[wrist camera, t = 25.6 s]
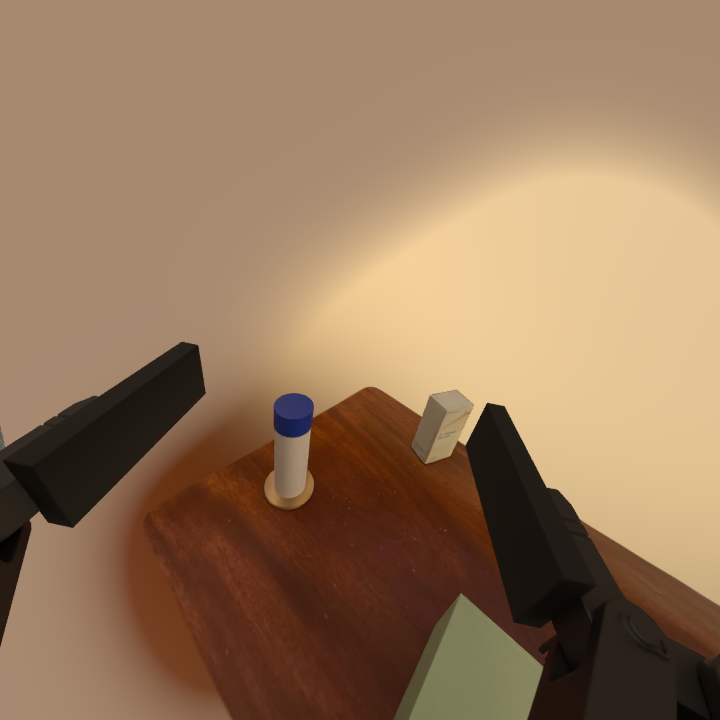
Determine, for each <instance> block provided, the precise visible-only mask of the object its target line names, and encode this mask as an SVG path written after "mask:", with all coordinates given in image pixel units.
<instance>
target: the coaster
mask: <svg viewBox="0 0 720 720" xmlns="http://www.w3.org/2000/svg"><path fill="white" fill-rule="evenodd" d="M313 488H314V480H313V477H312V475H311V473H310V472H309V471H308V470H307V474H306V484H305V488H304V490H303V492H302V493H301V494H299V495H298V496H296V497H294V498H283V497H281V496H279V495H278V494H277V493H276V491H275V488H274V470H273V471H272V472H271V473H270V474H269V476H268V477H267V479H266V481H265V485H264V493H265V497H266V499H267V501H268V502H269V503H270V504H271V505H272V506H274V507H276V508H278V509H282V510H290V509H295V508H298V507H300V506H301V505H303V504H304V503H306V502H307V501H308V499H309V498H310V496H311V495H312V492H313Z"/></svg>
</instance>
